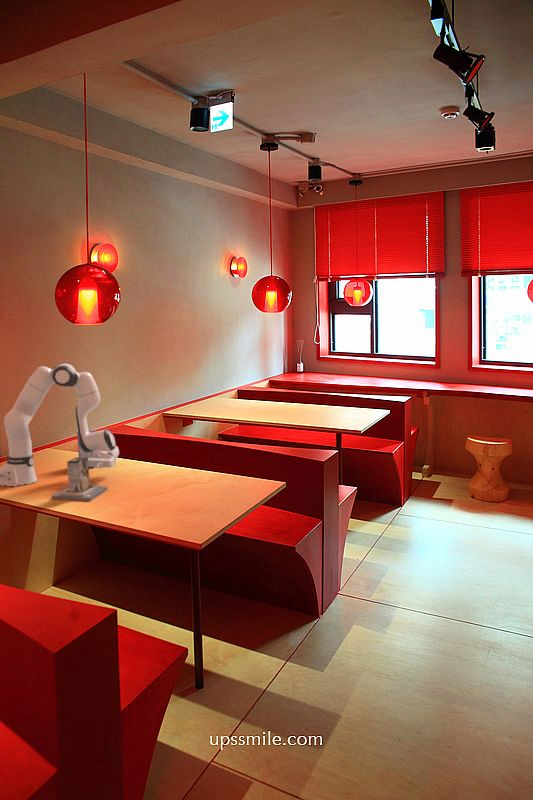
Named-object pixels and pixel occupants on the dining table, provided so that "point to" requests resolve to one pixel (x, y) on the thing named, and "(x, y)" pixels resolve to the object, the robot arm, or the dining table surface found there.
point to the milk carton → (83, 453)
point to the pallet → (84, 496)
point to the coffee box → (78, 475)
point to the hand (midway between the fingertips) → (87, 466)
